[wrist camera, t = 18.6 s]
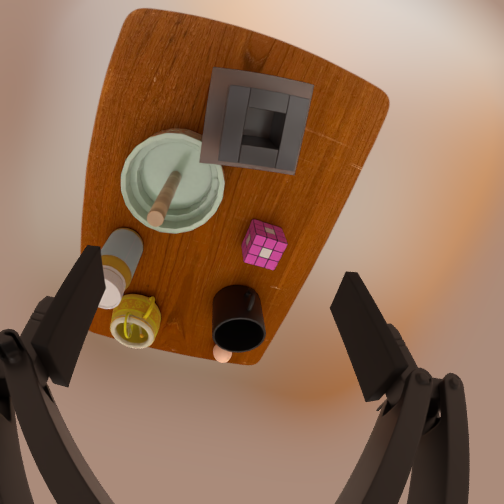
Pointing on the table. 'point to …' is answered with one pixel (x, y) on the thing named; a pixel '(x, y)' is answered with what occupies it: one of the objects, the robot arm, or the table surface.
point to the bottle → (119, 264)
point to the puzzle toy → (263, 245)
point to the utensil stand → (255, 120)
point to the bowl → (157, 172)
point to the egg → (221, 354)
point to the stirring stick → (164, 200)
